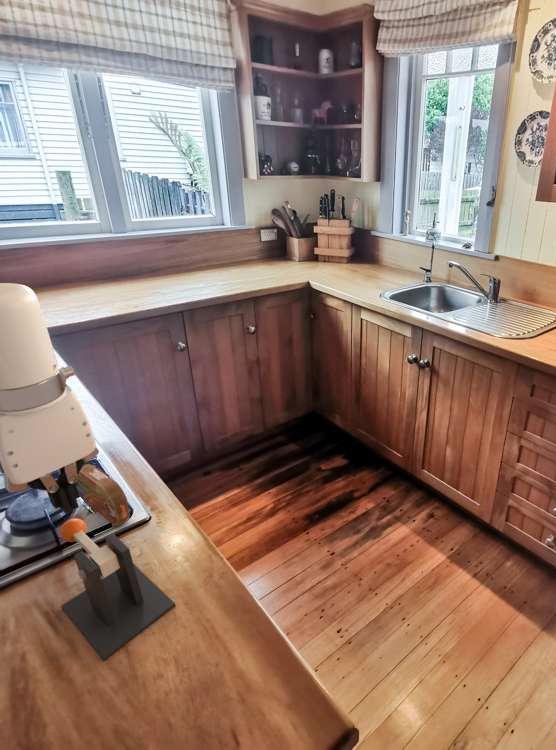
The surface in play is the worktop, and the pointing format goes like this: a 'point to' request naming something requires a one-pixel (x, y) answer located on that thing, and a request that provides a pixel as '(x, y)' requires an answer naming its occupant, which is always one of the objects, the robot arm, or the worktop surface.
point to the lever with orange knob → (90, 546)
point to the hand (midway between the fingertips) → (67, 506)
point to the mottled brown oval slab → (102, 494)
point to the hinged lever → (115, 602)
